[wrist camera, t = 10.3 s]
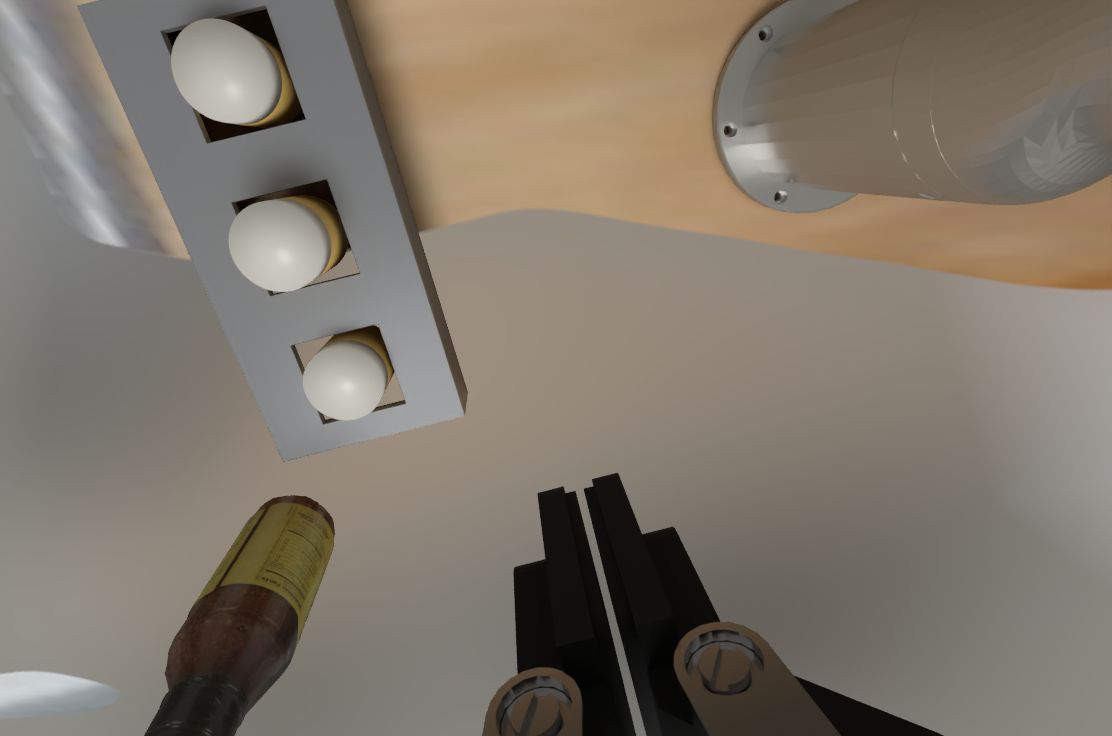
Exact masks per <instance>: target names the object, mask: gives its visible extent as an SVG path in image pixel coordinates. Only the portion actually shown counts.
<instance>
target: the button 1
mask: <svg viewBox="0 0 1112 736" xmlns="http://www.w3.org/2000/svg"><path fill="white" fill-rule="evenodd" d="M171 67H172V73H173V77H174V80H175V83H176V85H177V87H178V89H179V91H180V92H181V94H182V96H183V97H184V98H185V99H186V101H187V102H188V103H189V104H190V105H191V106H192V107H193V108H194V109H196V110H197V111H198V112H199V113H201V114H203V115H204V116H206V117H208V118H210V119H213V120H216V121H220V122H225V123H232V124H239V125H246V126H253V127H260V128H268V129H269V128H273V127H277V126H281V125H285V124H289V123H290V122H292V121H293V120H294V119H295V118H296V117H297V116H298V114H299V113H300V111H301V109H302V107H301V104H300V101H299V98H298V96H297V93H296V90H295V87H294V84H293V81H292V79H291V76H290V73H289V70H288V67H287V64H286V62H285V59H284V56H283V53H282V50H281V48H279V47H277V46H275V45H274V44H272V43H270V42H268V41H266V40H264V39H262V38H260V37H258V36H256V35H255V34H253V33H251V32H249V31H247V30H245V29H243V28H241V27H239V26H237V25H235V24H233V23H231V22H229V21H225V20H222V19H214V18H211V19H202V20H198V21H195V22H193V23H191V24H190V25H188V26H187V27H185V28H184V29H183V30H182V31H181V32H180V34H179V35H178V37H177V38H176V41H175V43H174V45H173V49H172V54H171Z"/></svg>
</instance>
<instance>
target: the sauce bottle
mask: <svg viewBox="0 0 1112 736" xmlns="http://www.w3.org/2000/svg"><path fill="white" fill-rule="evenodd" d="M334 535H335V531H334V522H333V519H332V517H331V516H330V514H329V513H328V512H327V511H326V510H325V509H324V507H322V506H321V505H319V504H318V503H317V502H316V501H313V500H312V499H310V498H308V497H306V496H295V495H294V496H283V497H277V498H273V499H271V500H270V501H268V502H266V503H265V504H264V505H263V506H261V507H260V509H259V510H258V511H257V512H256V514H254V516H252V517H251V518H250V519H249V520H248V522H247V523H246V524H245V526H244V528H243V529H242V531H241V532H240V534H239V535H238V537H237V539H236V540H235V542H234V543H233V545H232V546H231V548H230V550H229V551H228V552H227V554H226V556H225V557H224V559H223V560H222V562H221V563H220V565H219V567H218V568H217V570H216V571H215V573H214V574H213V576H212V577H211V579H210V580H209V582H208V583H207V585H206V586H205V588H204V590H203V591H202V593H201V594H200V596H199V597H198V599H197V601H196V602H195V604H194V605H193V607H192V609H191V610H190V612H189V615H188V617H187V620H186V621H185V623H184V624H183V626H182V627H181V629H180V630H179V632H178V633H177V635H176V636H175V638H174V640H173V642H172V645H171V647H170V649H169V652H168V661H167V667H166V672H165V676H166V680H167V683H168V688H169V692H168V693H167V694H166V695H165V697H164V699H163V700H162V703H161V705H160V709H159V710H158V712H157V714H156V716H155V717H154V719H153V721H152V723H151V724H150V726H149V728H148V730H147V732H146V733H145V735H144V736H234V735H235V733H236V731H237V728H238V727H239V726H240V725H241V723H242V721H243V719H244V717H245V715H246V714H247V712H248V711H249V710H250V709H251V708H252V707H253V706H254V705H255V704H256V703H257V701H258V700H259V699H260V698H261V697H262V696H263V695H264V694H265V693H266V692H267V691H268V689H269V688H270V687H271V686H272V685H273V684H274V683H275V682H276V681H277V679H278V678H279V677H280V676H281V675H282V674H283V673H284V671H285V670H286V669H287V667H288V665H289V664H290V662H291V659H292V657H293V654H294V652H295V649H296V647H297V644H298V641H299V639H300V636H301V633H302V630H303V628H304V625H305V622H306V620H307V618H308V615H309V612H310V610H311V607H312V604H313V601H314V599H315V596H316V594H317V591H318V588H319V585H320V583H321V580H322V578H323V575H324V573H325V570H326V567H327V564H328V562H329V559H330V556H331V554H332V550H333V547H334Z"/></svg>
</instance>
